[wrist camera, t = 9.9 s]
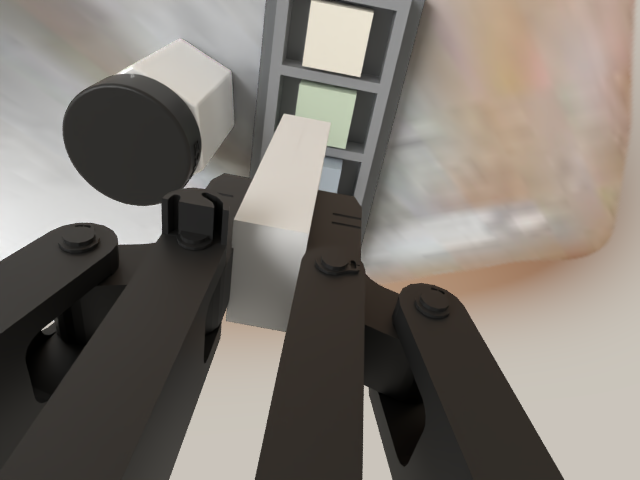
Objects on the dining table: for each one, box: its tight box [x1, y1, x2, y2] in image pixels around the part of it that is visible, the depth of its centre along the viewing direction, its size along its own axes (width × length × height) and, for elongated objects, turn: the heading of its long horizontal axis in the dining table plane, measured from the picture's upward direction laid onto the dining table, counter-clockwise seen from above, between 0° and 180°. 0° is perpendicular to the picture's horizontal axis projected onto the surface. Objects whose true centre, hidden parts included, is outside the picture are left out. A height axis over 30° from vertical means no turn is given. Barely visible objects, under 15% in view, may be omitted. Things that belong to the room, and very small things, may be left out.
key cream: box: [302, 0, 374, 77], centre depth 33 cm, size 4×4×2 cm
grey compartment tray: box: [250, 0, 425, 245], centre depth 39 cm, size 11×23×4 cm, turn 171°
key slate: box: [319, 156, 343, 193], centre depth 38 cm, size 4×4×2 cm
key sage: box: [295, 79, 357, 149], centre depth 36 cm, size 4×4×2 cm
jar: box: [63, 38, 234, 206], centre depth 35 cm, size 9×8×12 cm
